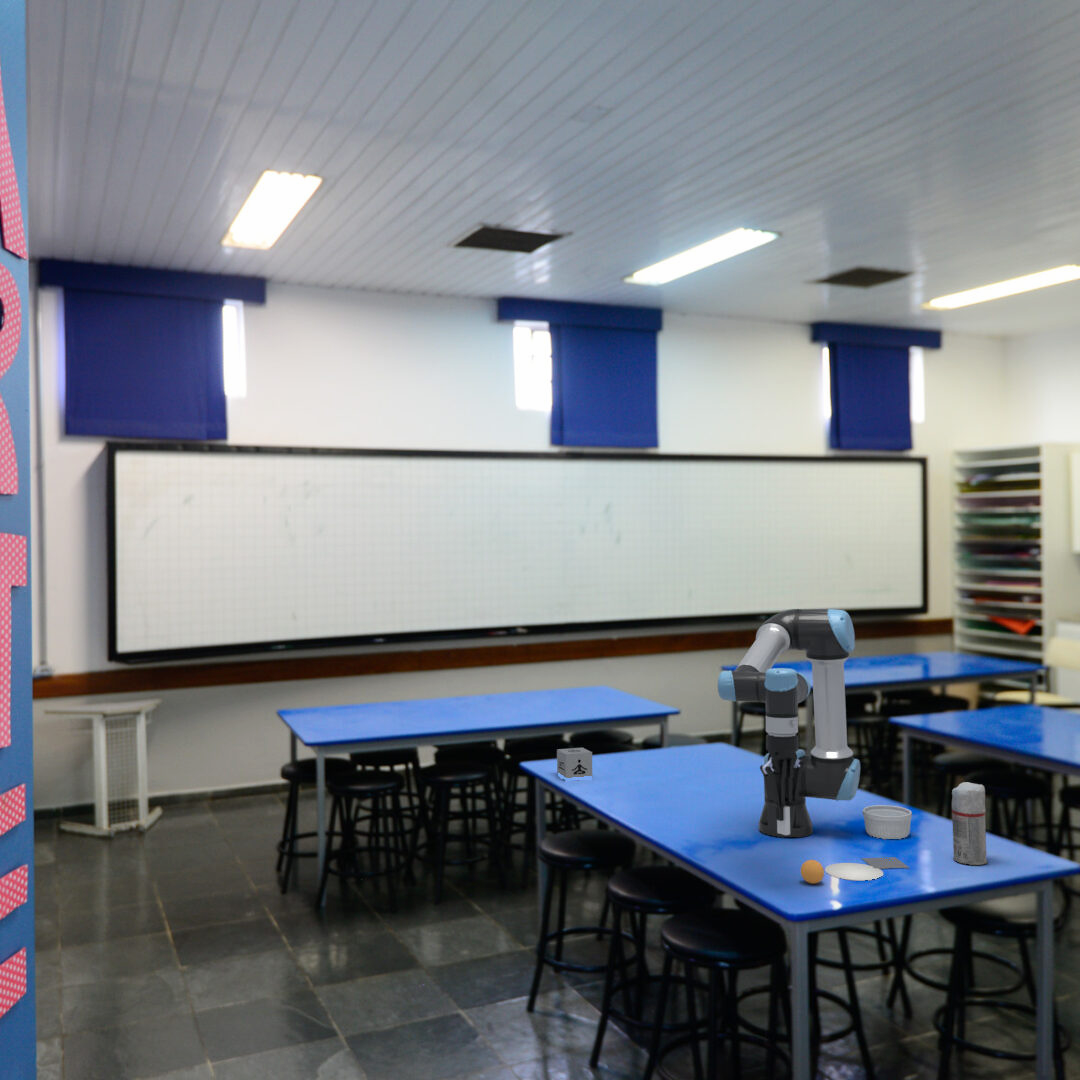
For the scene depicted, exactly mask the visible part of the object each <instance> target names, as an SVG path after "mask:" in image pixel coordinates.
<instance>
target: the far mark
mask: <svg viewBox="0 0 1080 1080" xmlns="http://www.w3.org/2000/svg"><path fill="white" fill-rule="evenodd" d="M885 858H886V859H885ZM887 858H889V859H887ZM882 859H883V860H882ZM861 860H862V861H863V860H864V861H863V862H865V863H866V865H868V864H869V865H870V866H872V867H876V868H878V869H880V870H890V869H889V868H904V869H910V867H909V866H908V865H907V864H905V863H904V862H903V861H901V860H900V859H898V858H897V857H896V856H894V857H893V856H891V857H862V858H861ZM889 860H890V861H889ZM892 860H893V861H892ZM874 869H875V868H874Z"/></svg>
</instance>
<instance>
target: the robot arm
mask: <svg viewBox="0 0 1080 1080" xmlns="http://www.w3.org/2000/svg"><path fill="white" fill-rule="evenodd" d="M855 637H856V635H855V629H854V625H853V621H852V618H851V616H850V615H849V613H848V612H847V611H846V610H843V609H834V608H833V609H832V608H792V609H791V608H790V609H786V610H784V611H781V612H778V613H776V614H775V615H772V616H771V617H770V618H768V619H767V620H765V621H764V622H763V623H762V624H761V625H760V627H759V628H758V629H757V631H756V635H755V640H754V642H753V644H751V646H750V648H749V649H748V651H747V652H746V653H745V655H744V657H743V658H742V659H741V661H740V662H739V664H738V665H737V667H736V668H735V669H734V670H730V669H729V670H723V671H721V672H720V673H719V674H718V678H717V679H718V680H717V693H718V695H719V697H720V699H722V700H723V701H732V702H745V703H746V702H747V703H748V702H749V703H750V702H751V703H764V704H765V732H766V733H767V734H766V735H765V749H766V750H767V752H768V753H766V754H765V755H764V758H763V764H761V765H760V766H759V769H760V771H761V774H762V776H763V791H764V804H763V807H762V811H761V815H760V818H759V821H758V831H759V830H760V831H761V832H762V833H761V832H760V831H759V832H760V833H761V834H763V833H765V834H764V835H766V834H767V836H770V835H772V836H771V837H775V836H777V838H784V837H797V838H804V837H808V836H810V835H812V834H813V833H814V831H813V822H812V820H811V816H810V814H809V811H808V808H807V800H806V799H807V798H812V799H813V798H814V799H823V800H834V801H836V802H838V801H847V802H849V801H852V800H853V799H854V798H855V797H856V794H857V791H858V788H859V783H860V775H861V761H860V760H859V759H857V758H854V751H853V750H852V749H851V748H850V747H849V746H848V735H847V713H846V712H847V708H846V689H845V688H846V687H845V686H846V685H845V667H844V666H845V665H844V664H845V662H846V661H847V660H848V659H849V658H850V653H851V652H853V651H854V650H855V646H856V643H855ZM787 651H805V658H806V659H807V660H808V661H809V662H810V663H811V667H812V668H811V670H812V671H811V672H812V690H813V691H812V692H813V712H814V713H813V714H814V715H813V716H814V734H815V736H814V737H815V746H814V747H813V748H812V749H811V750H810V755H806V752H805V750H804V749H801V748H799V736H798V735H797V734H798V733H799V717H798V715H799V711H798V710H799V708H798V707H799V704H800V703H802V702H804V701H805V700H806V698H807V697H808V696H810V692H811V682H810V680H809V679H808V677H807V676H806V675H805V674H803V673H801V672H797V671H796V670H795V669H793V668H785V667H777V668H773V667H774V665H775V663H776V662H777V660H778V658H779V656H781V655H783V654H784V653H786V652H787Z"/></svg>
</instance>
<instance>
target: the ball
mask: <svg viewBox="0 0 1080 1080" xmlns="http://www.w3.org/2000/svg"><path fill="white" fill-rule="evenodd" d="M800 875H801V878H803V880H804V881H805V882H807V883H808V884H818V883H820V882H821V881H822V880H823V879H824V877H825V869H824V867H823V865H822V864H821V863H820V862H819V861H818V860H814V859H808V860H805V861H804V862H803V863H802V865H801V867H800Z"/></svg>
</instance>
